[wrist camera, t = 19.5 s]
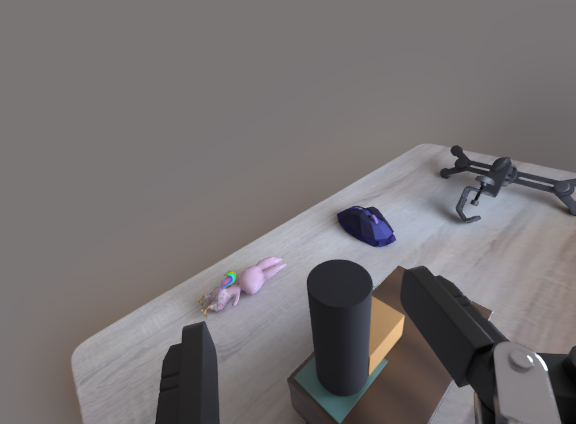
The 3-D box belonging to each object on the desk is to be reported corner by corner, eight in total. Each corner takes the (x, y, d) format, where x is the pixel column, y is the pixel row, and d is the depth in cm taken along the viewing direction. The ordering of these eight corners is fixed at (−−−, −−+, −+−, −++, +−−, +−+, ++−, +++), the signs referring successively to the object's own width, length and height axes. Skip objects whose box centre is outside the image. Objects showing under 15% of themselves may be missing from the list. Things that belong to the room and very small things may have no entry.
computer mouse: (365, 203, 68) (365, 188, 66) (413, 238, 56) (415, 220, 54) (329, 216, 66) (328, 200, 63) (372, 255, 54) (373, 238, 52)
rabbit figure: (212, 331, 46) (295, 279, 50) (195, 308, 42) (286, 254, 46) (202, 303, 51) (278, 258, 54) (186, 281, 47) (268, 234, 51)
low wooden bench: (386, 508, 27) (391, 485, 23) (292, 406, 34) (286, 377, 31) (481, 342, 38) (493, 310, 35) (395, 294, 46) (398, 264, 43)
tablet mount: (559, 258, 57) (604, 176, 55) (555, 254, 47) (610, 154, 45) (425, 208, 76) (454, 145, 73) (401, 198, 66) (434, 124, 63)
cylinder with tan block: (346, 408, 28) (344, 320, 21) (306, 371, 31) (293, 283, 24) (403, 336, 34) (417, 246, 26) (364, 310, 37) (367, 224, 30)
